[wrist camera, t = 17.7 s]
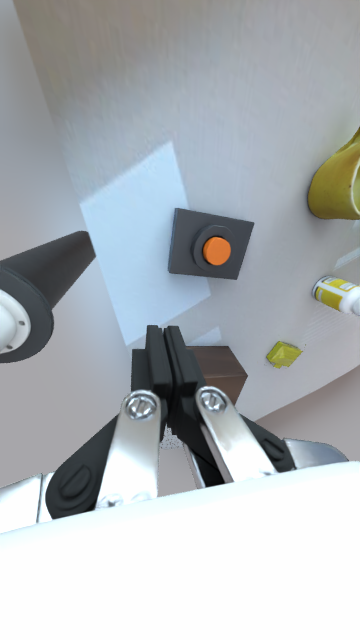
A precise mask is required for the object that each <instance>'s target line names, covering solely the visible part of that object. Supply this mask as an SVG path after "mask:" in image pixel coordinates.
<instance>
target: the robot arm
mask: <svg viewBox="0 0 360 640" xmlns="http://www.w3.org/2000/svg"><path fill="white" fill-rule="evenodd" d="M30 331H31V323H30V319H29V316H28V314H27V312H26V311H25V309H24V308H23V307H22V305H21V304H20V303H19V302H18V301H17V300H16V299H14V298H13V297H12V296H10V295H9V294H7V293H6V292H4V291H2V290H0V354H1V353H6V352H10V351H12V350H15V349H16V348H18V347H20V346H21V345H22V344H23V343H24V342H25V341H26V339H27V338H28V336H29V334H30ZM131 374H132V375H131V393H130V394H128V395H127V396H126V397H125V398H124V400H123V402H122V404H121V408H120V412H119V414H118V415H117V416H115V417H114V418H113V419H112V420H111V421H110V422H109V423H108V424H107V425H105V426H104V427H103V428H102V429H101V430H100V431H99V432H98V433H96V434H95V435H94V436H93V437H92V438H91V439H90V440H89V441H88V442H86V443H85V444H84V445H83V446H82V447H81V448H80V449H79V450H77V451H76V452H75V453H74V454H73V455H72V456H71V457H70V458H68V459H67V460H66V461H65V462H64V463H63V464H62V465H61V466H60V467H59V468H58V469H57V470H56V471H54V472H51V473H49V474H46V475H43V474H42V473H40V474H37V475H35V476H32V477H29V478H27V479H24V480H21V481H18V482H16V483H13V484H10V485H7V486H5V487H2V488H0V640H360V461H349V460H348V459H347V458H346V456H345V455H344V454H343V453H342V452H340V451H339V450H338V449H337V448H335V447H333V446H332V445H329V444H325V443H319V442H311V441H304V440H297V439H289V438H283V440H280V439H279V438H278V437H277V436H275V435H274V434H272V433H270V432H269V431H267V430H266V429H264V428H262V427H261V426H259V425H257V424H256V423H254V422H253V421H251V420H249V419H248V418H246V417H244V416H243V415H241V414H240V413H238V411H237V410H236V408H235V407H234V405H233V404H232V402H231V400H230V399H229V397H228V396H227V395H226V394H225V393H224V392H223V391H222V390H220V389H219V388H216V387H213V386H207V383H206V381H205V378H204V376H203V373H202V371H201V368H200V366H199V364H198V361H197V359H196V356H195V354H194V351H193V350H192V349H186V346H185V343H184V340H183V338H182V335H181V332H180V329H179V327H178V326H168V327H167V328H164V332H162V328H158V325H147V334H146V346H145V349H132V373H131ZM166 424H167V428H171V431H172V435H177V438H178V439H180V440H181V441H182V442H183V448H184V451H185V454H186V457H187V460H188V463H189V466H190V469H191V471H192V475H193V477H194V480H195V483H196V486H197V489H198V490H193V491H188V492H183V493H178V494H173V495H168V496H163V497H158V498H157V496H158V472H159V471H158V470H159V447H160V443H161V441H162V440H163V436H164V431H165V426H166Z"/></svg>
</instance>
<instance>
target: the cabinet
mask: <svg viewBox="0 0 360 640" xmlns="http://www.w3.org/2000/svg"><path fill="white" fill-rule="evenodd" d="M186 349H192V350H193V351H194V354H195V356H196V359H197V361H198V364H199V366H200V368H201V371H202V373H203V376H204V378H205V381H206V383H207V386H213V387H216V388H219V389H220V390H222V391H223V392H224V393H225V394H226V395H227V396H228V397H229V399H230V400H231V402H232V404H233V405H234V406H235V403H236V401H237V399H238V397H239V394H240V392H241V390H242V388H243V386H244V383H245V381H246V379H247V377H248V375H247V373H246V372H245V370H244V369H243V367H242V366H241V364H240V363H239V361H238V360H237V358H236V357H235V356H234V354H233V353H232V351H231V350H230V348H229V347H228V346H186Z"/></svg>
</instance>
